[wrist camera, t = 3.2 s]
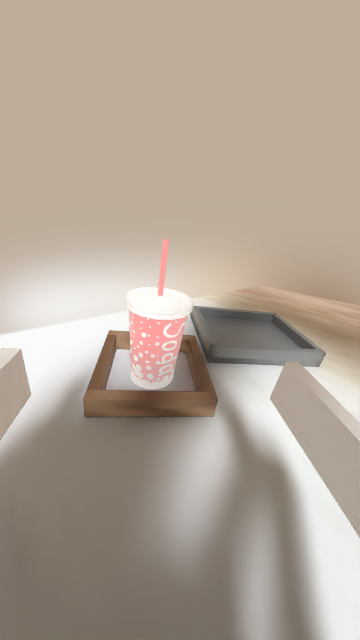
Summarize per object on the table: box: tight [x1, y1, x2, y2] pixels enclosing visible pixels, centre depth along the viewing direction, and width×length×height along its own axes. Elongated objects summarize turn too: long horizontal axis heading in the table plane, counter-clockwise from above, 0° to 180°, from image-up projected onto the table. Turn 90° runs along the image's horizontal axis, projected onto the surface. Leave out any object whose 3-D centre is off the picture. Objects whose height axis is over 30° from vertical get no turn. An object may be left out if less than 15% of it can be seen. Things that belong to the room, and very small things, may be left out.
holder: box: [83, 330, 218, 417], centre depth 22 cm, size 11×11×2 cm
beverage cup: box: [126, 239, 193, 389], centre depth 20 cm, size 6×6×14 cm
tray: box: [191, 306, 326, 367], centre depth 33 cm, size 16×13×2 cm
